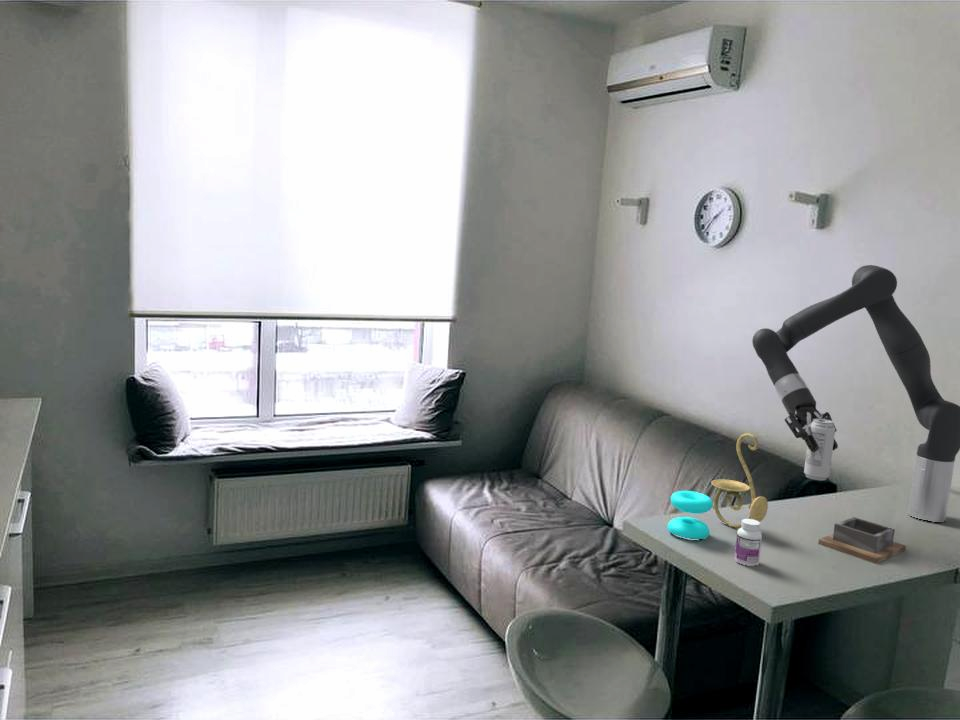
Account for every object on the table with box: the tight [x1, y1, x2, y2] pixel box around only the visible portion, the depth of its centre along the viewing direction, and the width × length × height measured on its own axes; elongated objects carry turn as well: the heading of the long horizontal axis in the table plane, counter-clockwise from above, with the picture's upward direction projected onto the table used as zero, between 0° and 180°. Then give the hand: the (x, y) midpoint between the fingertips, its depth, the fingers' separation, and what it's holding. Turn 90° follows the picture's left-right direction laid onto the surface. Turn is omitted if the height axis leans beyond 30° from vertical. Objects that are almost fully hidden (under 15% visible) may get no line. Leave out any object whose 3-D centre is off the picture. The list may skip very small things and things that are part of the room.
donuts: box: [667, 490, 714, 540], centre depth 196 cm, size 10×10×10 cm
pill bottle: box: [734, 518, 763, 567], centre depth 180 cm, size 5×5×10 cm
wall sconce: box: [710, 432, 769, 529], centre depth 202 cm, size 14×10×25 cm
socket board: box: [818, 516, 907, 564], centre depth 195 cm, size 16×14×5 cm
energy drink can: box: [803, 418, 836, 481], centre depth 204 cm, size 6×6×15 cm
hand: (825, 449), depth 202 cm, fingers closed on energy drink can, 6 cm apart
